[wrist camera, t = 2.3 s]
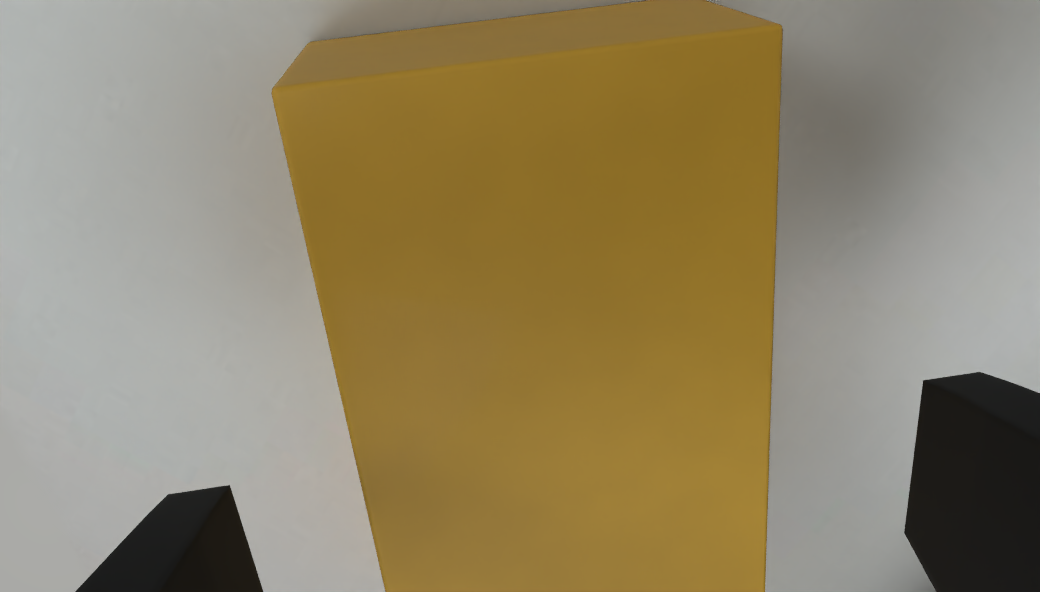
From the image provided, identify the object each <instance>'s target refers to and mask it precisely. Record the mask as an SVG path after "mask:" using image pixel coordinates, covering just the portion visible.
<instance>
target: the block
mask: <svg viewBox="0 0 1040 592" xmlns="http://www.w3.org/2000/svg"><path fill="white" fill-rule="evenodd" d="M782 35H783V29H782V26H781V25H780V24H777V23H774V22H770V21H767V20H764V19H761V18H758V17H755V16H752V15H749V14H746V13H743V12H740V11H736V10H733V9H730V8H727V7H724V6H721V5H718V4H715V3H712V2H709V1H706V0H649V1H641V2H632V3H624V4H616V5H608V6H600V7H591V8H583V9H575V10H567V11H559V12H550V13H542V14H534V15H526V16H518V17H510V18H501V19H493V20H485V21H477V22H469V23H460V24H452V25H444V26H436V27H428V28H420V29H411V30H403V31H395V32H387V33H379V34H370V35H362V36H354V37H346V38H338V39H329V40H321V41H313V42H310V43H308V44H307V45H306V46H305V48H304V49H303V50H302V51H301V53H300V54H299V55H298V56H297V58H296V59H295V60H294V62H293V63H292V64H291V65H290V67H289V68H288V69H287V70H286V72H285V73H284V74H283V76H282V77H281V78H280V79H279V81H278V82H277V83H276V85H275V86H274V87H273V88H272V93H271V94H272V98H273V103H274V107H275V111H276V116H277V120H278V124H279V129H280V133H281V137H282V142H283V146H284V151H285V155H286V159H287V164H288V168H289V172H290V177H291V181H292V185H293V190H294V194H295V199H296V203H297V207H298V212H299V216H300V220H301V225H302V229H303V233H304V238H305V242H306V247H307V251H308V255H309V260H310V264H311V268H312V273H313V277H314V281H315V286H316V290H317V295H318V299H319V303H320V308H321V312H322V316H323V321H324V325H325V330H326V334H327V338H328V343H329V347H330V351H331V356H332V360H333V364H334V369H335V373H336V378H337V382H338V386H339V391H340V395H341V399H342V404H343V408H344V412H345V417H346V421H347V426H348V430H349V434H350V439H351V443H352V447H353V452H354V456H355V460H356V465H357V469H358V474H359V478H360V482H361V487H362V491H363V495H364V500H365V504H366V509H367V513H368V517H369V522H370V526H371V530H372V535H373V539H374V543H375V548H376V552H377V557H378V561H379V565H380V570H381V574H382V578H383V583H384V587H385V591H386V592H765V572H766V541H767V509H768V478H769V446H770V414H771V383H772V351H773V320H774V288H775V256H776V225H777V193H778V162H779V130H780V98H781V67H782Z"/></svg>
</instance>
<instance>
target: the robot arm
mask: <svg viewBox="0 0 1040 592" xmlns="http://www.w3.org/2000/svg"><path fill="white" fill-rule="evenodd" d="M904 533H905V535H906V537H907V539H908V540H909V542H910V544H911V546H912V548H913V550H914V551H915V553H916V555H917V557H918V559H919V561H920V563H921V564H922V566H923V568H924V570H925V572H926V574H927V575H928V577H929V579H930V581H931V583H932V584H933V586H934V588H935V589H936V591H937V592H1040V393H1037V392H1035V391H1032V390H1029V389H1027V388H1024V387H1022V386H1019V385H1016V384H1013V383H1011V382H1008V381H1005V380H1002V379H999V378H996V377H993V376H990V375H987V374H984V373H981V372H977V373H970V374H963V375H957V376H950V377H943V378H937V379H930V380H924V381H923V387H922V395H921V403H920V411H919V419H918V427H917V435H916V443H915V451H914V459H913V467H912V475H911V484H910V492H909V500H908V508H907V516H906V524H905V532H904ZM76 592H263V590H262V586H261V583H260V580H259V577H258V574H257V571H256V567H255V564H254V561H253V558H252V555H251V551H250V548H249V545H248V542H247V539H246V536H245V532H244V529H243V526H242V523H241V520H240V516H239V513H238V510H237V507H236V504H235V501H234V497H233V494H232V491H231V488H230V485H228V486H221V487H215V488H208V489H201V490H195V491H188V492H182V493H175V494H168V495H167V496H166V497H165V498H164V499H163V500H162V501H161V502H160V503H159V504H158V505H157V506H156V507H155V508H154V509H153V510H152V511H151V512H150V513H149V514H148V515H147V516H146V517H145V518H144V519H143V520H142V521H141V522H140V523H139V524H138V525H137V526H136V528H135V529H134V530H133V531H132V532H131V533H130V534H129V535H128V536H127V537H126V538H125V539H124V540H123V541H122V542H121V543H120V545H119V546H118V547H117V548H116V549H115V550H114V551H113V552H112V553H111V554H110V555H109V556H108V557H107V558H106V560H105V561H104V562H103V563H102V564H101V565H100V566H99V567H98V568H97V569H96V570H95V571H94V572H93V573H92V575H91V576H90V577H89V578H88V579H87V580H86V581H85V582H84V583H83V584H82V585H81V586H80V587H79V588H78V589H77V591H76Z"/></svg>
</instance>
